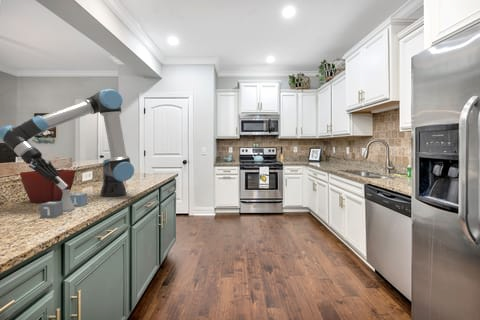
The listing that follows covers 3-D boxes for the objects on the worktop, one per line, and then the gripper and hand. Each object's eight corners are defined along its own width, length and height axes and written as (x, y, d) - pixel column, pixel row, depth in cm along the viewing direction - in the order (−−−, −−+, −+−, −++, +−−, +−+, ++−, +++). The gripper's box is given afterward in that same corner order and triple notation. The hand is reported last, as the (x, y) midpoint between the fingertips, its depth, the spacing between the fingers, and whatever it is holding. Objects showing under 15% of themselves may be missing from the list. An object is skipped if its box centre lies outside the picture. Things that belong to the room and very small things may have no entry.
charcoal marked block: (49, 214, 123) (49, 201, 123) (62, 214, 123) (62, 201, 123) (40, 218, 117) (39, 204, 117) (54, 218, 117) (54, 204, 117)
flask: (78, 209, 135) (78, 189, 134) (68, 212, 127) (67, 191, 127) (64, 208, 135) (64, 188, 135) (53, 212, 128) (53, 191, 127)
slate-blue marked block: (75, 204, 145) (75, 193, 145) (87, 204, 145) (87, 193, 145) (69, 206, 139) (68, 195, 139) (81, 206, 139) (80, 195, 139)
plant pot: (46, 196, 164) (45, 169, 164) (76, 197, 164) (76, 169, 163) (19, 203, 145) (18, 172, 145) (53, 204, 145) (53, 172, 144)
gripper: (32, 158, 136) (67, 191, 137) (12, 159, 123) (50, 195, 124) (43, 147, 136) (78, 180, 137) (24, 147, 123) (62, 184, 124)
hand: (65, 187), depth 131 cm, fingers closed
